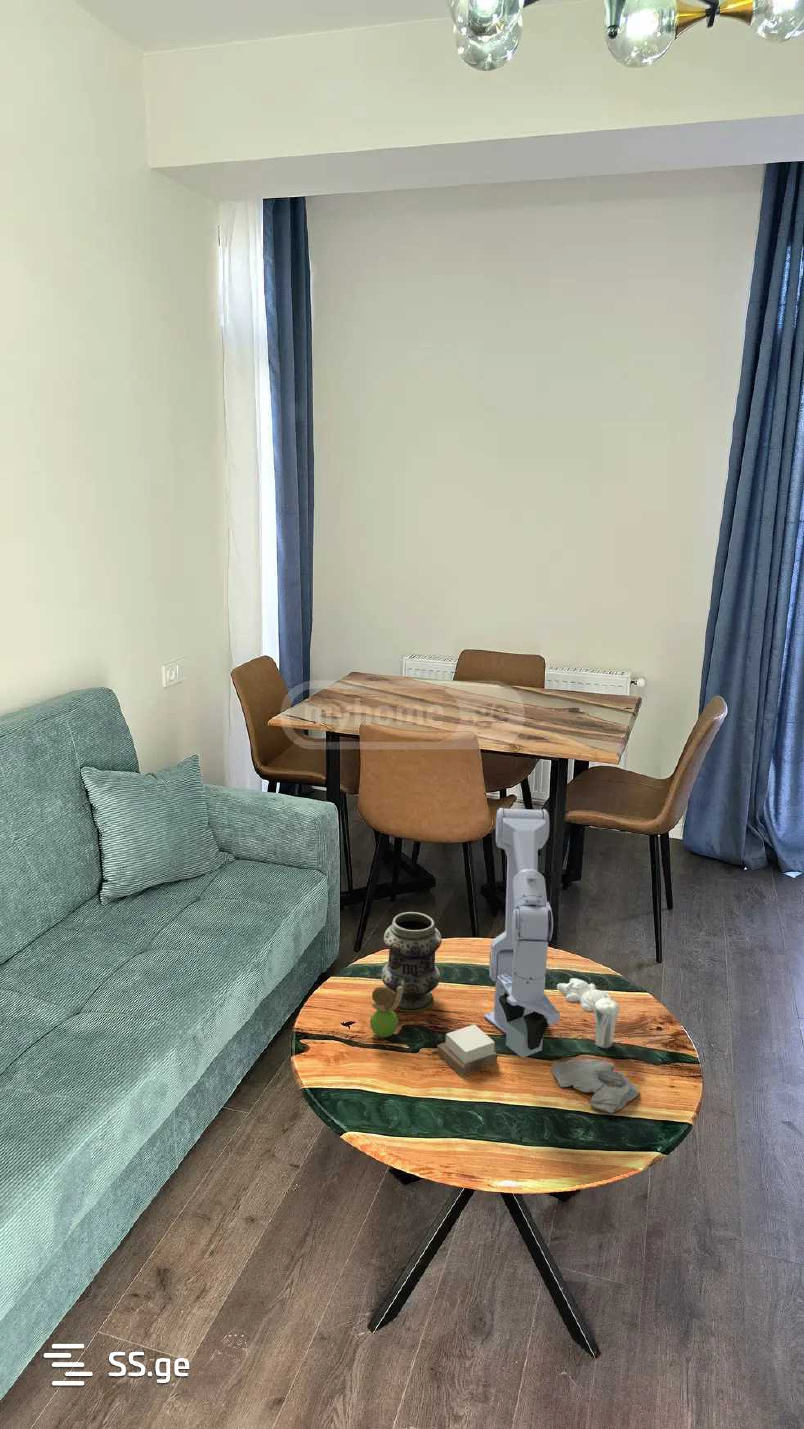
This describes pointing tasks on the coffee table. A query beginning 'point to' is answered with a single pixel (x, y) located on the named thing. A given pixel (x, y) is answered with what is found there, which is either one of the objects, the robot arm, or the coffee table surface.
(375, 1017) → the snail figurine
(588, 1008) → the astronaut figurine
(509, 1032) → the slate block
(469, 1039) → the cream slab
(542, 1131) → the coffee table surface
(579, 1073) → the fossil
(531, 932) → the robot arm
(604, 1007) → the milkshake
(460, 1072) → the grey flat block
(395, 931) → the apothecary jar
